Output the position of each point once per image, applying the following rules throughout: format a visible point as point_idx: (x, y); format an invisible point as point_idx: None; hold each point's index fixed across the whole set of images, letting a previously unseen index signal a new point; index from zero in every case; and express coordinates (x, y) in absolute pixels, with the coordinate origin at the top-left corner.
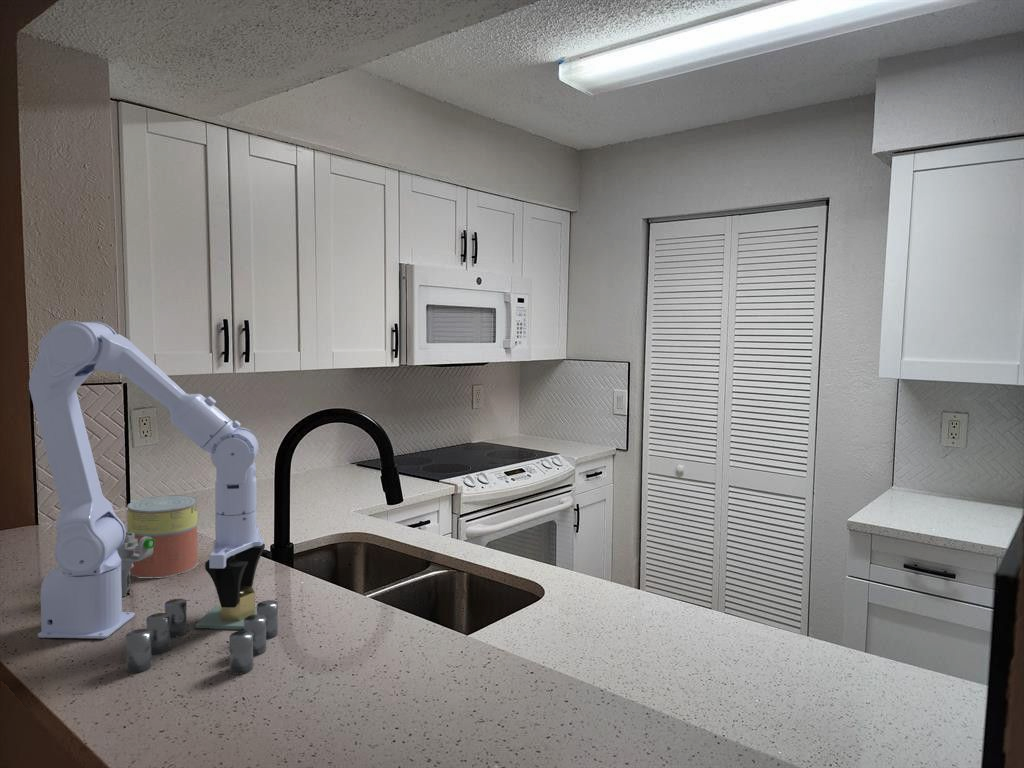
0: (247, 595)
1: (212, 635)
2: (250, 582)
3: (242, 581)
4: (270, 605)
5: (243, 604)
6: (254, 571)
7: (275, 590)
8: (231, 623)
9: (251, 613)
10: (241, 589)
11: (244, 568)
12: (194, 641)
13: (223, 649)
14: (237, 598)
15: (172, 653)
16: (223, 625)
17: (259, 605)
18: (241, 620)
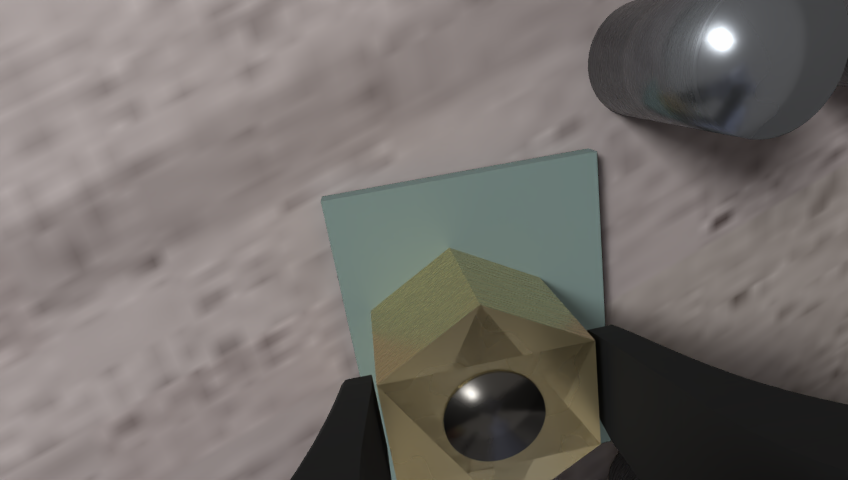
0: (536, 321)
1: (660, 323)
2: (371, 411)
3: (381, 467)
4: (800, 19)
5: (550, 307)
6: (333, 456)
7: (22, 337)
8: (574, 301)
9: (474, 259)
10: (454, 411)
11: (844, 446)
12: (720, 358)
13: (798, 194)
14: (642, 340)
15: (823, 372)
16: (599, 324)
17: (797, 109)
18: (533, 273)
